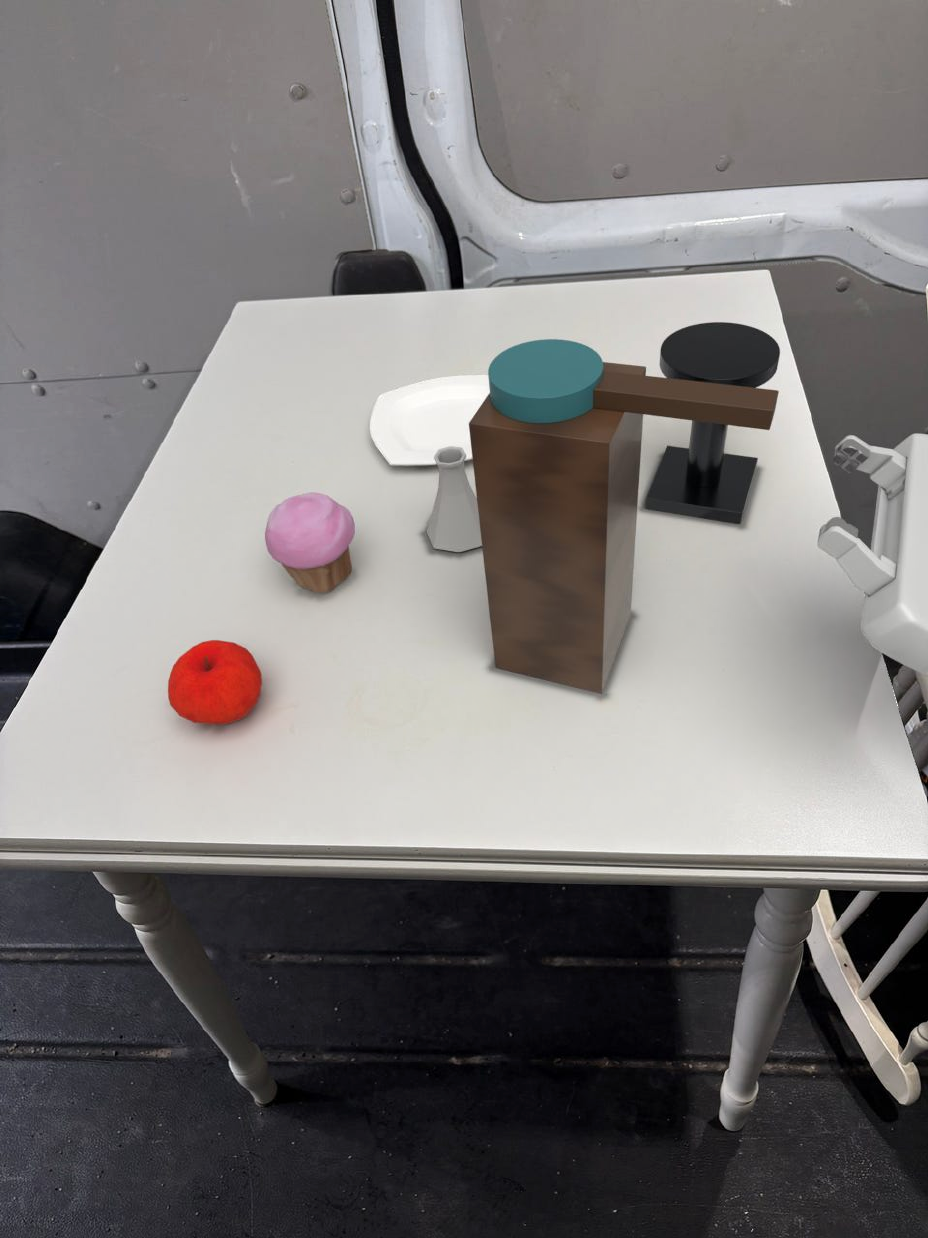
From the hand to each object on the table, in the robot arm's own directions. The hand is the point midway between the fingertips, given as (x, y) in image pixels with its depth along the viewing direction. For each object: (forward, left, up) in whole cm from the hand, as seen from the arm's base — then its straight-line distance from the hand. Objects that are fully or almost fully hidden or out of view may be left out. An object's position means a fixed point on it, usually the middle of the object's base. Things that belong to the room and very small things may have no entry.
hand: (832, 485), depth 56 cm
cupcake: (+46, -1, -22) cm, 50 cm away
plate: (+44, -30, -22) cm, 57 cm away
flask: (+35, -12, -22) cm, 43 cm away
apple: (+46, +17, -22) cm, 53 cm away
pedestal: (+19, 0, -21) cm, 29 cm away
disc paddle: (+14, 0, +5) cm, 15 cm away
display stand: (+12, -26, -21) cm, 36 cm away
